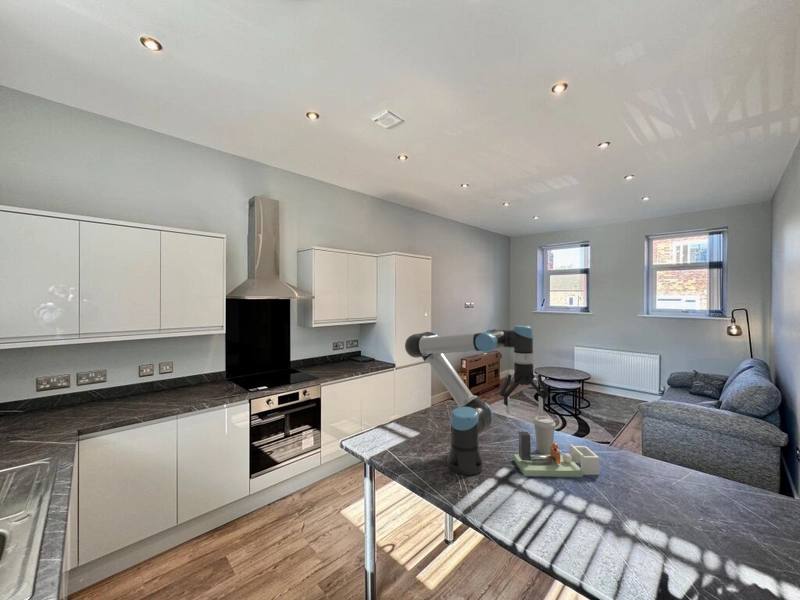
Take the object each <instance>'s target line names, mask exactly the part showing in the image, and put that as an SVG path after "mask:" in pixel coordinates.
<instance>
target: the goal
mask: <svg viewBox="0 0 800 600" xmlns="http://www.w3.org/2000/svg"><path fill="white" fill-rule="evenodd" d="M569 454H570V455H571V457H572V460H573V461H574V462H575V463H576V464H580V468H581V469H582V470H583V476H584V475H586V476H587V475H588V476H589V475H590V476H594V475H595V476H600V457H599V456H598V455H597V454H596V453H595V452H594V451H592V450H591V449H590V448H589V447H587V446H586V445H585V446H584V445H581V446H580V445H579V446H578V445H577V446H575V445H573V443H570V444H569Z"/></svg>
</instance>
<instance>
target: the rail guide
mask: <svg viewBox="0 0 800 600" xmlns="http://www.w3.org/2000/svg"><path fill="white" fill-rule="evenodd" d="M532 464H552V461H532Z"/></svg>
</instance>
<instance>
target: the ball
mask: <svg viewBox="0 0 800 600" xmlns="http://www.w3.org/2000/svg"><path fill="white" fill-rule="evenodd" d="M562 455H563V456H562V458H563V460H564V461H565V462H566V463H570V462H571V461H572V457H571V455H570V453H566V452H565V453H563V454H562Z"/></svg>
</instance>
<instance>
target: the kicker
mask: <svg viewBox="0 0 800 600" xmlns="http://www.w3.org/2000/svg"><path fill="white" fill-rule="evenodd" d="M531 453H532V452H531V434H530V433H529V431H518V454H519V457H520V458H521V460H526V461H531V460H548V461H554V462H555V463H556V464H560V455H561V452H560V450H559V445H558V444H557V443H555V442H553V444H552V446H550V456H531Z"/></svg>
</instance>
